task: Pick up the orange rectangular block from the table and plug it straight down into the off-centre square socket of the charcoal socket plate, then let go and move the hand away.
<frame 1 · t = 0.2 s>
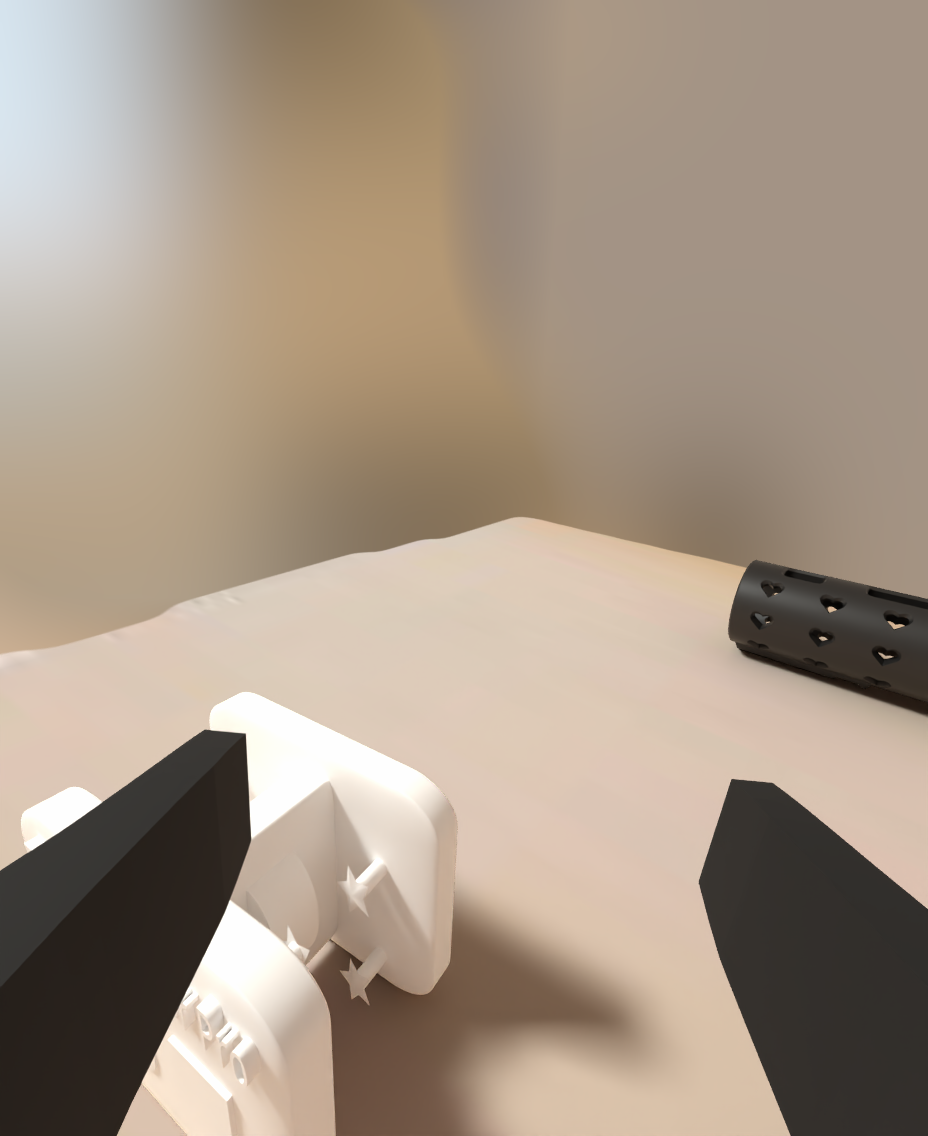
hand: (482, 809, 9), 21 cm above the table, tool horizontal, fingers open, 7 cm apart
cable organizer: (263, 1009, 26), on the table
perforated grey cylinder: (885, 697, 54), on the table
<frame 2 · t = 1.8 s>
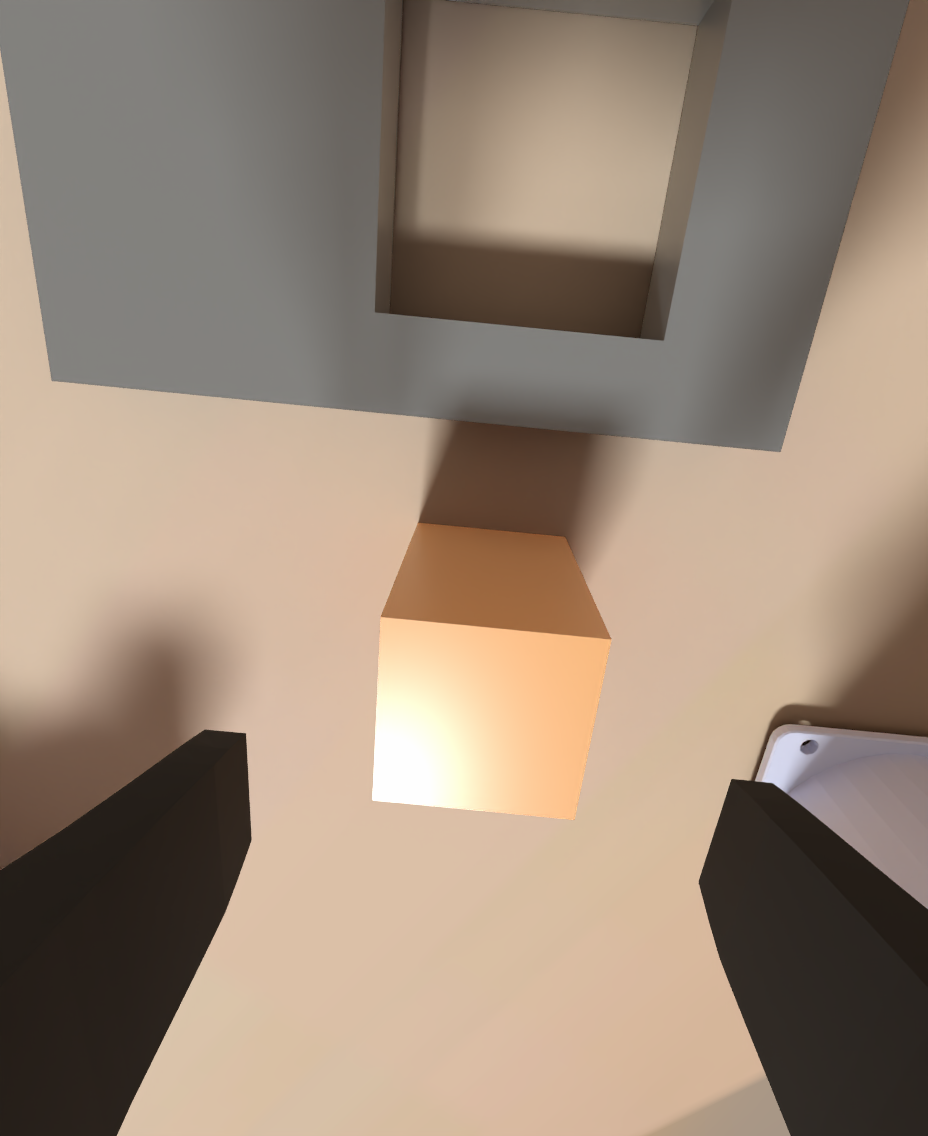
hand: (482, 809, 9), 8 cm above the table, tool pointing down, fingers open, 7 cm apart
orange rectangular block: (483, 596, 16), on the table
socket plate: (444, 120, 12), on the table
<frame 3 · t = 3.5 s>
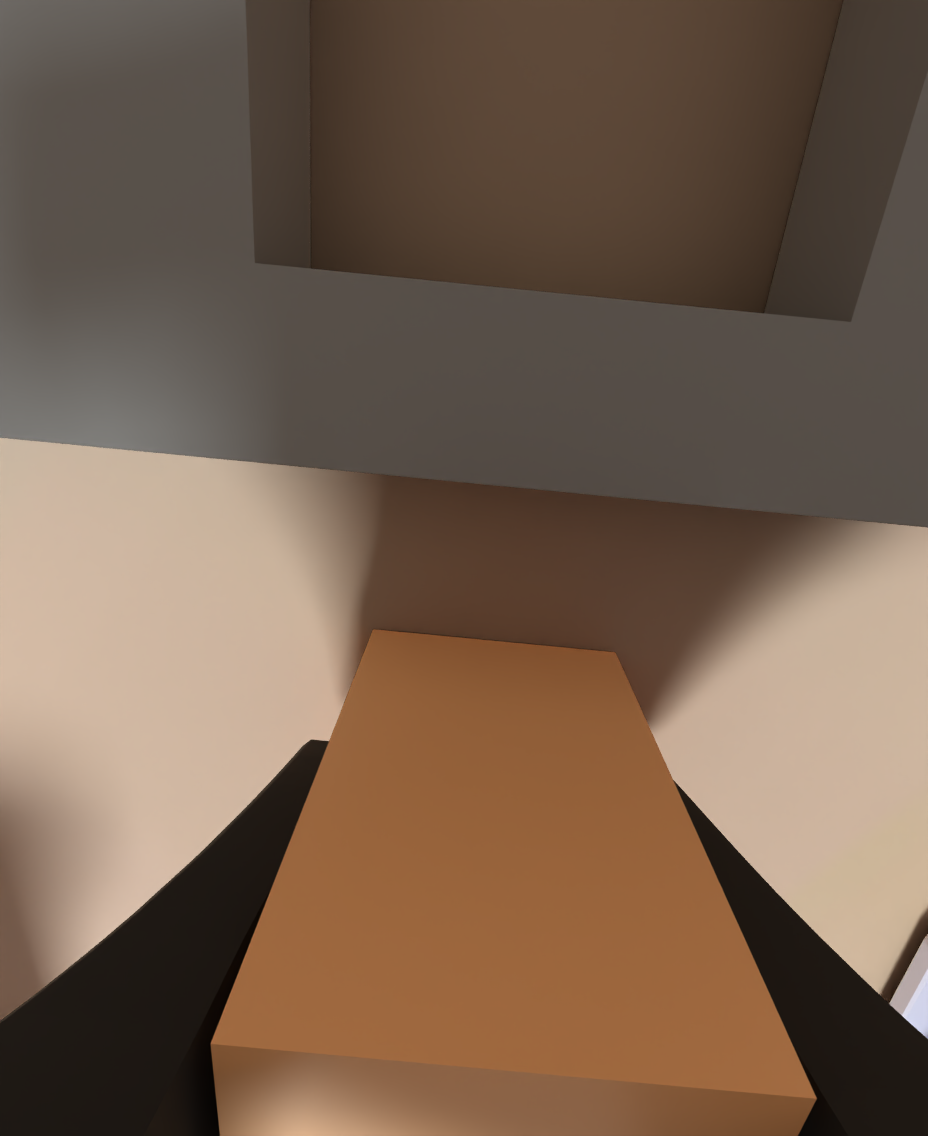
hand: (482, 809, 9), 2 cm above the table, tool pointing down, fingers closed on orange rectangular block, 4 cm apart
orange rectangular block: (481, 741, 10), on the table, touching gripper
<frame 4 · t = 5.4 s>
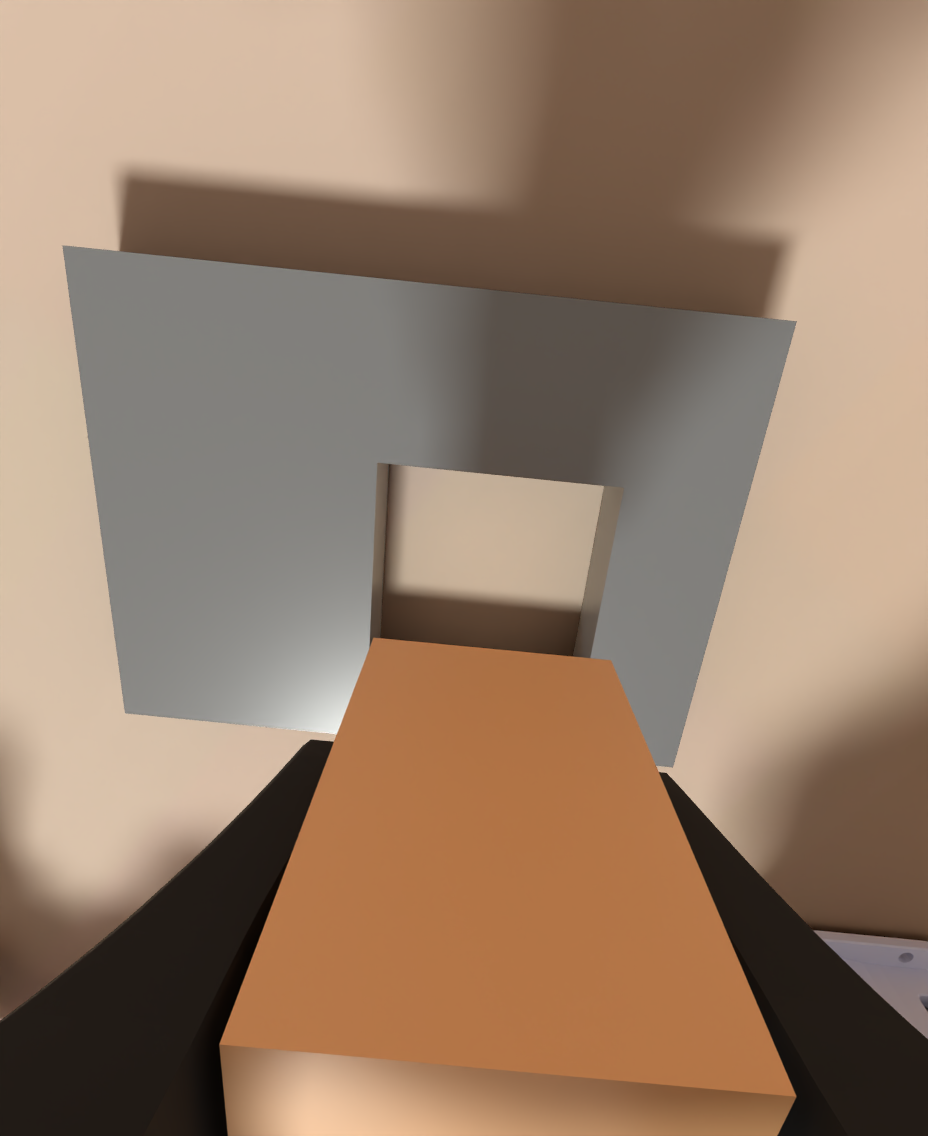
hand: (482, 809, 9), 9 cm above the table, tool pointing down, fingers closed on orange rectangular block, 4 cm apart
orange rectangular block: (480, 746, 10), point 7 cm above the table, touching gripper
socket plate: (421, 523, 16), on the table
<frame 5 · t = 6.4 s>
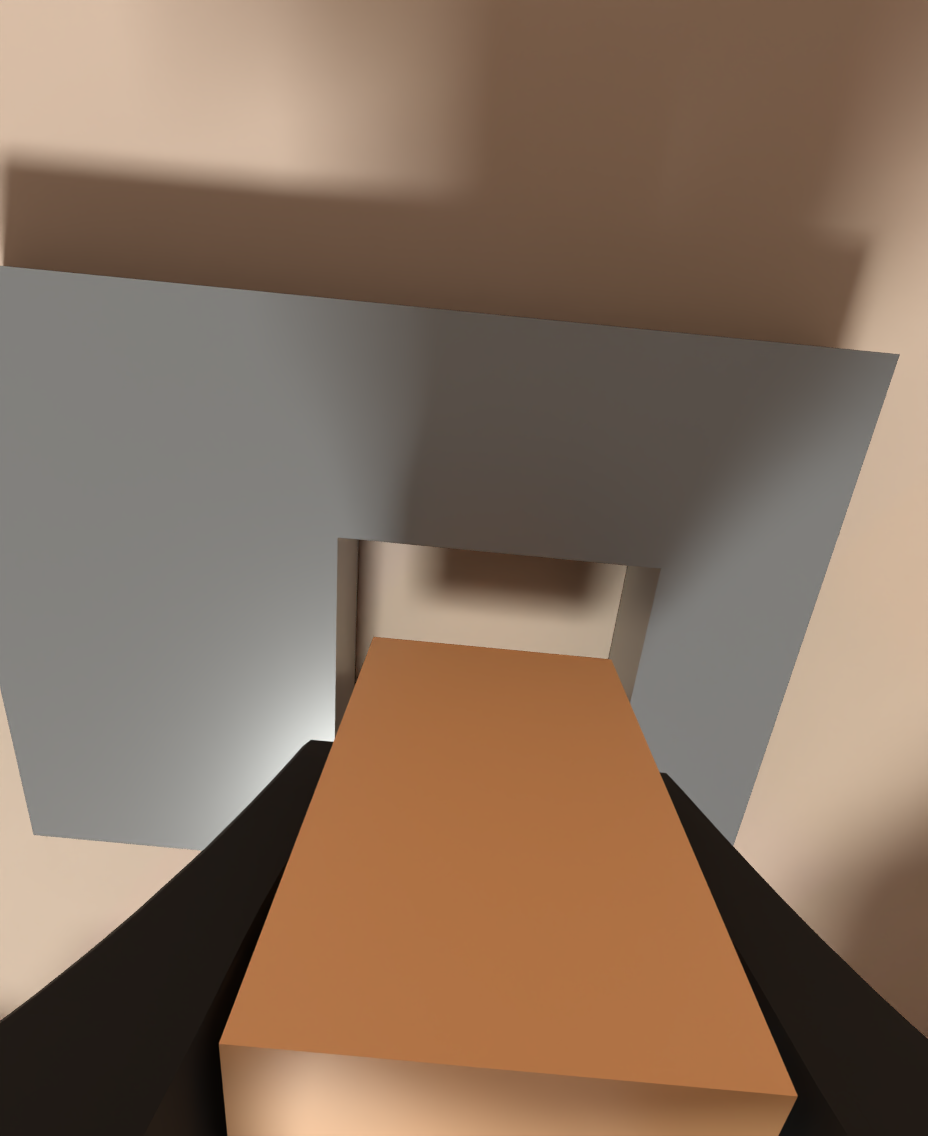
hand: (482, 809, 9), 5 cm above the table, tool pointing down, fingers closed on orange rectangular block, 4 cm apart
orange rectangular block: (480, 746, 10), point 3 cm above the table, touching gripper
socket plate: (400, 598, 13), on the table
when the fingers open (3 cm above the table, at t = 7.4 s): orange rectangular block drops 1 cm, resting in socket plate.
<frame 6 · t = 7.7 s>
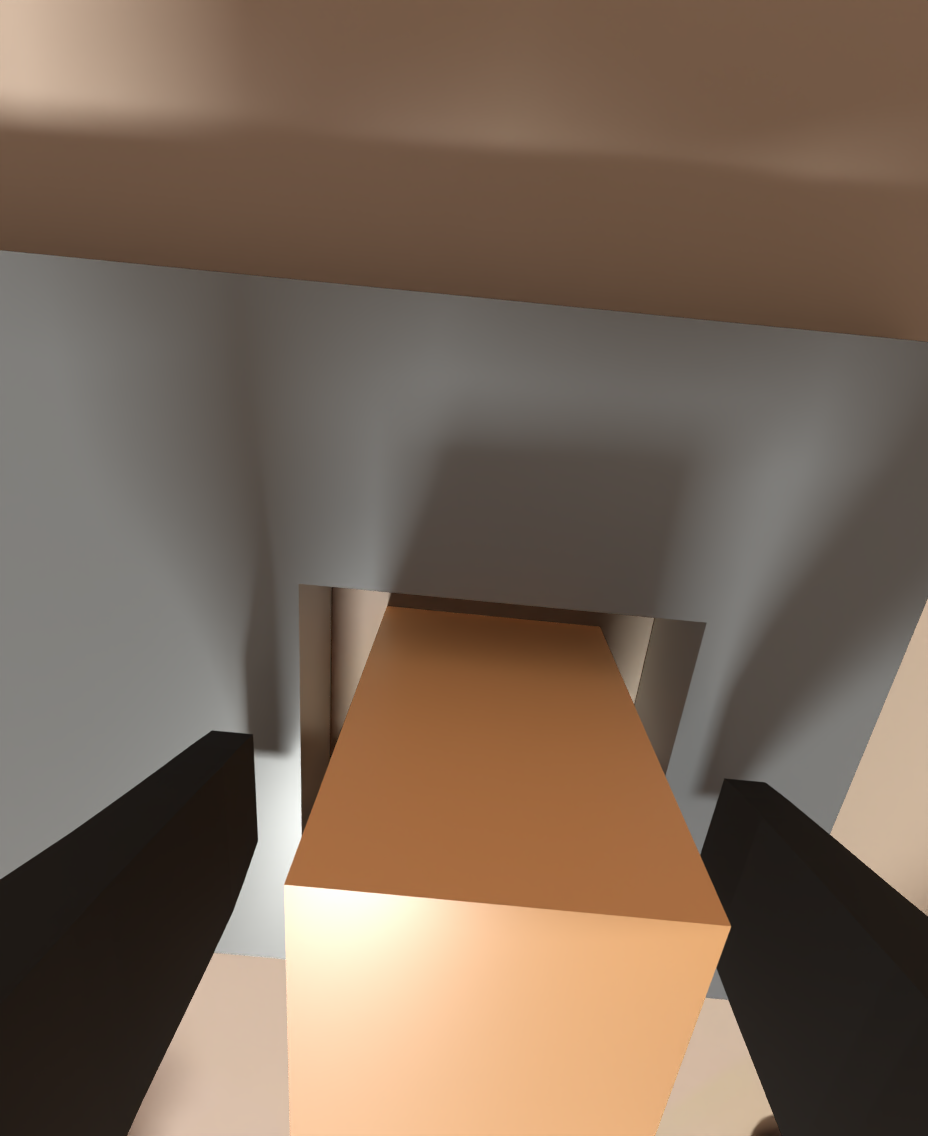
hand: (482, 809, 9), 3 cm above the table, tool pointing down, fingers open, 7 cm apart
orange rectangular block: (482, 706, 11), resting in socket plate
socket plate: (383, 645, 11), on the table
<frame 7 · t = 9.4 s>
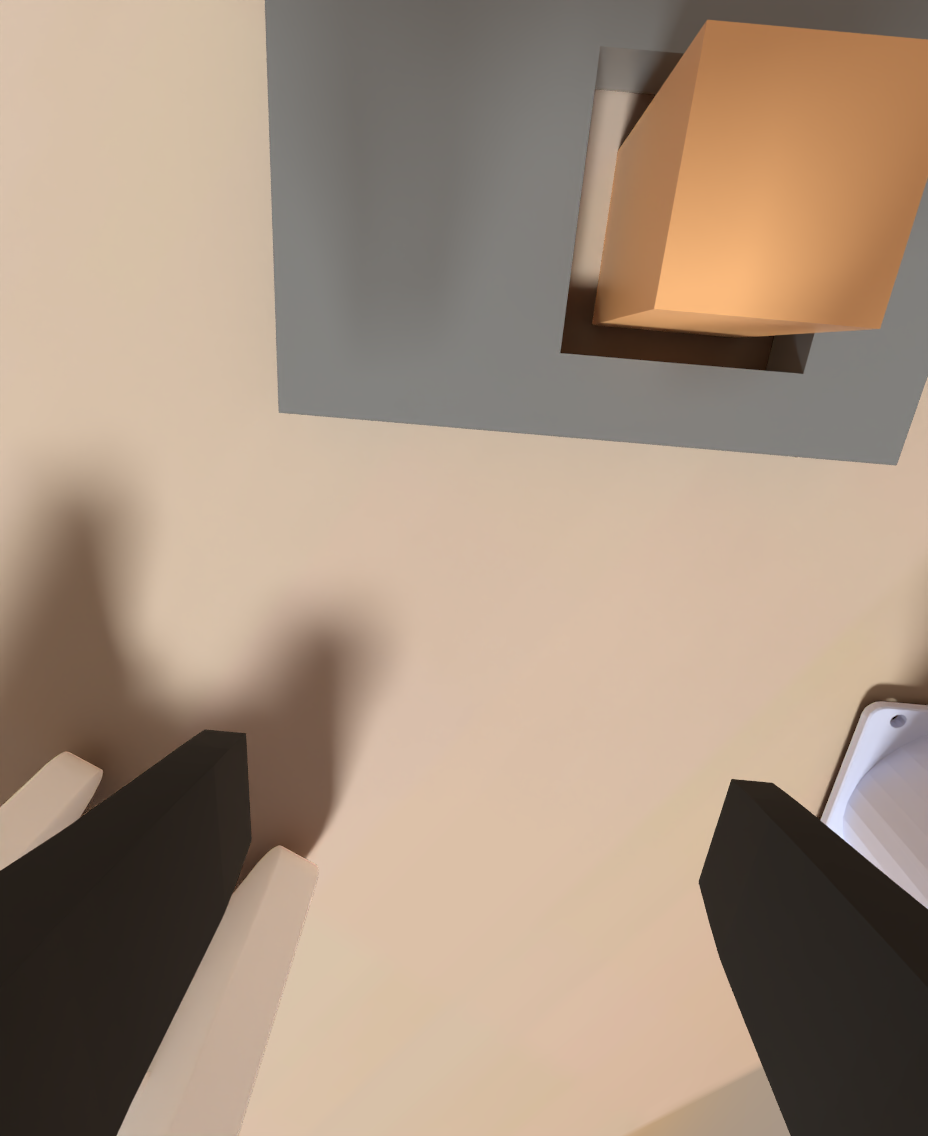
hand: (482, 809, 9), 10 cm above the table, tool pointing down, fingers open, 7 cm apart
orange rectangular block: (680, 248, 15), resting in socket plate
socket plate: (611, 188, 14), on the table
cable organizer: (146, 883, 24), on the table
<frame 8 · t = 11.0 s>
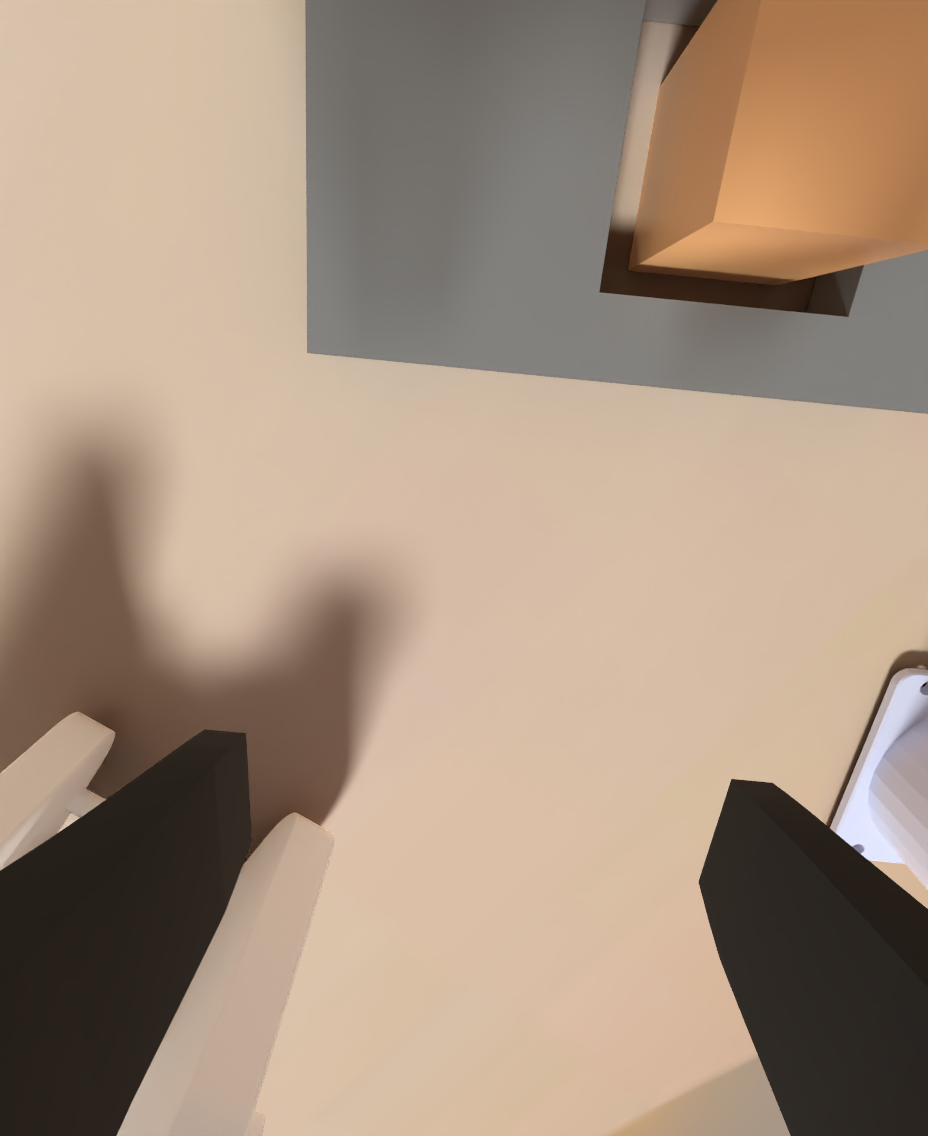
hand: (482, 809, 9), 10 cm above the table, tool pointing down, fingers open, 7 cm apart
orange rectangular block: (720, 191, 15), resting in socket plate
socket plate: (652, 126, 14), on the table
cable organizer: (156, 854, 23), on the table
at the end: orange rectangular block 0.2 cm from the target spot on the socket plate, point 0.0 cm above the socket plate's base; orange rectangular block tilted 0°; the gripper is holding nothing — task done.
